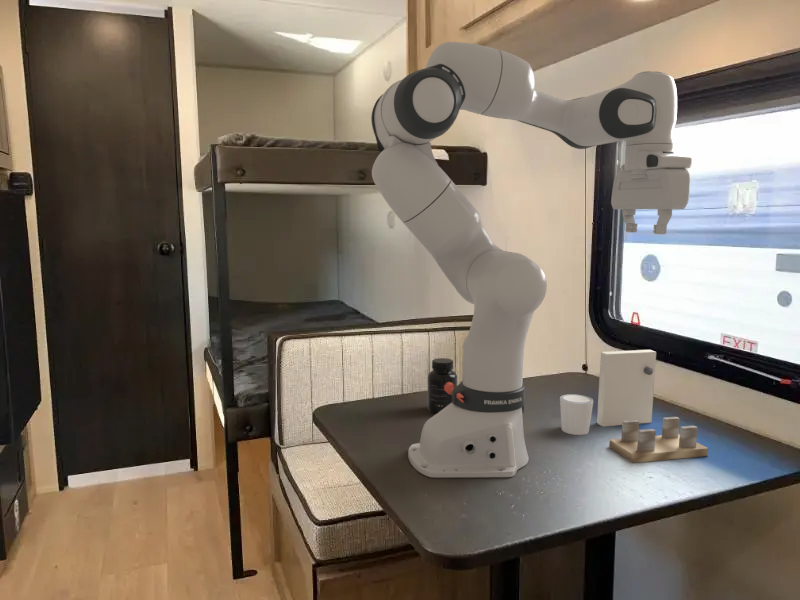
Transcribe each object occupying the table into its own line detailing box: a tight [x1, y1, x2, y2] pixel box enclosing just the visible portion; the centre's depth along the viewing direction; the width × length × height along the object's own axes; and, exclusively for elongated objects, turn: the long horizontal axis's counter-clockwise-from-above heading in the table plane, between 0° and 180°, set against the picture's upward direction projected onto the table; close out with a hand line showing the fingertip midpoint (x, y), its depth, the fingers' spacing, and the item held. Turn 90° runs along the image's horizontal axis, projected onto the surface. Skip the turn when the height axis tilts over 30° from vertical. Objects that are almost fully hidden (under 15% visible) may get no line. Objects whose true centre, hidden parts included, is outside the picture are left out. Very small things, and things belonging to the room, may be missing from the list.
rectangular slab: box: [596, 349, 657, 427], centre depth 134 cm, size 12×3×16 cm, turn 103°
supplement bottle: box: [427, 357, 458, 415], centre depth 142 cm, size 7×7×12 cm
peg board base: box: [608, 416, 709, 464], centre depth 119 cm, size 16×8×6 cm, turn 103°
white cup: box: [559, 393, 594, 436], centre depth 131 cm, size 7×7×7 cm
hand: (644, 233), depth 121 cm, fingers open, 8 cm apart
